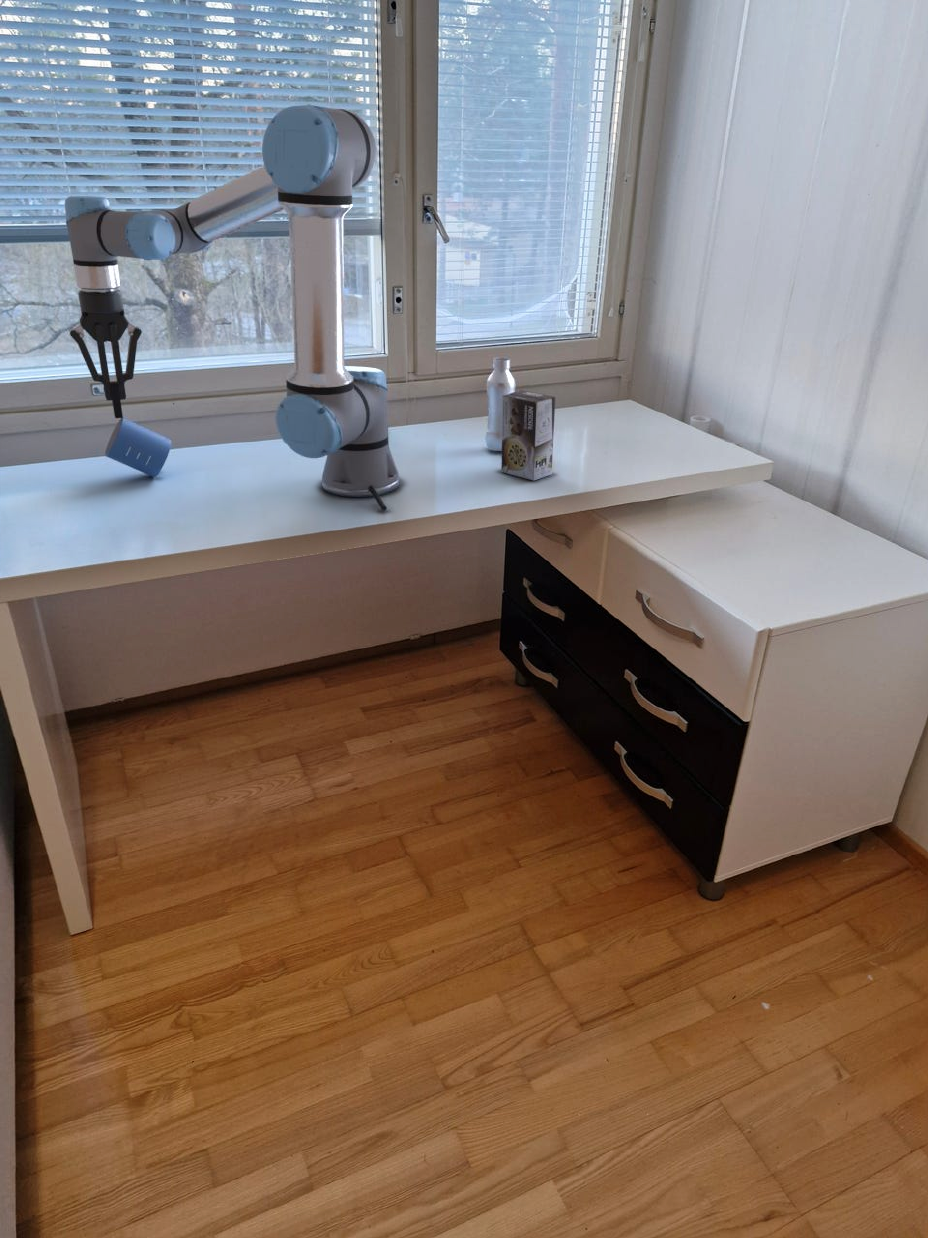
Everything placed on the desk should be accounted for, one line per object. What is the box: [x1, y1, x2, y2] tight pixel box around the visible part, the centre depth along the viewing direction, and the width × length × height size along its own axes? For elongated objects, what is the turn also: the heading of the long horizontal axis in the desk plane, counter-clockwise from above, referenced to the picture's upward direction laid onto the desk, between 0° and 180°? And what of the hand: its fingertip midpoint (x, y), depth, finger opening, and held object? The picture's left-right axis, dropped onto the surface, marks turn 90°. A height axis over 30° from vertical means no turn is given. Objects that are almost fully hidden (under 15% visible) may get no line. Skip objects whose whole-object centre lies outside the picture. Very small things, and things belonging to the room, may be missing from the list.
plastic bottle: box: [485, 357, 517, 452], centre depth 191 cm, size 6×7×20 cm
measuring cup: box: [104, 417, 172, 478], centre depth 174 cm, size 10×8×8 cm
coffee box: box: [500, 389, 556, 481], centre depth 177 cm, size 9×6×16 cm
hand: (118, 416), depth 171 cm, fingers closed
